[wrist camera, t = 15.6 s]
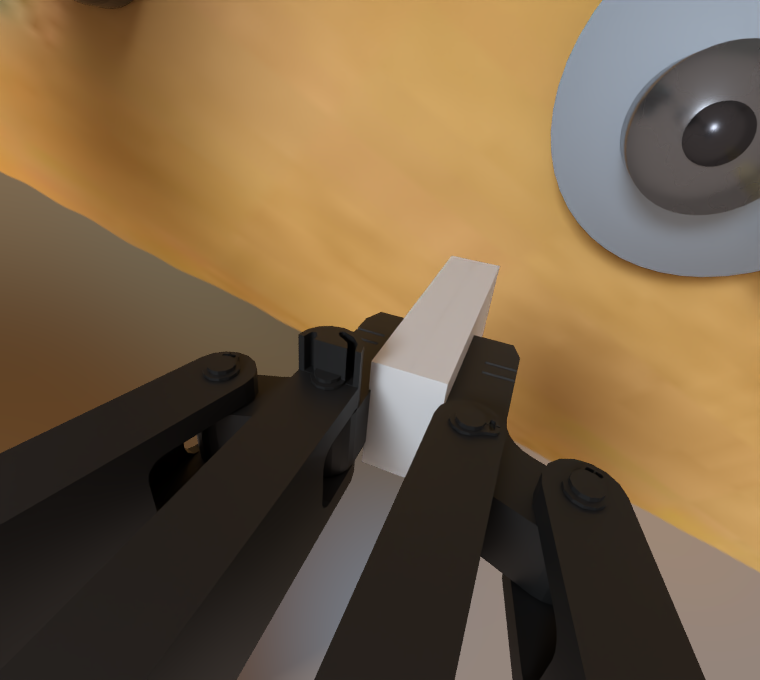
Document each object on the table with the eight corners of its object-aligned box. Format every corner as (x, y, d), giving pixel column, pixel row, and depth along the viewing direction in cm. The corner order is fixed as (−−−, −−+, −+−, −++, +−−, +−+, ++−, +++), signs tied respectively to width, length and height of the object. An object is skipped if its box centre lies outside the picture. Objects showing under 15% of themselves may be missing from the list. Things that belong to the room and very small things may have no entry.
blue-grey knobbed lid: (630, 310, 34) (644, 371, 27) (499, 77, 31) (472, 71, 23) (1026, 149, 23) (1247, 176, 16) (896, -246, 19) (1102, -470, 12)
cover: (660, 223, 29) (673, 244, 25) (594, 120, 28) (596, 124, 23) (812, 137, 24) (860, 146, 20) (741, 10, 23) (777, -9, 19)
